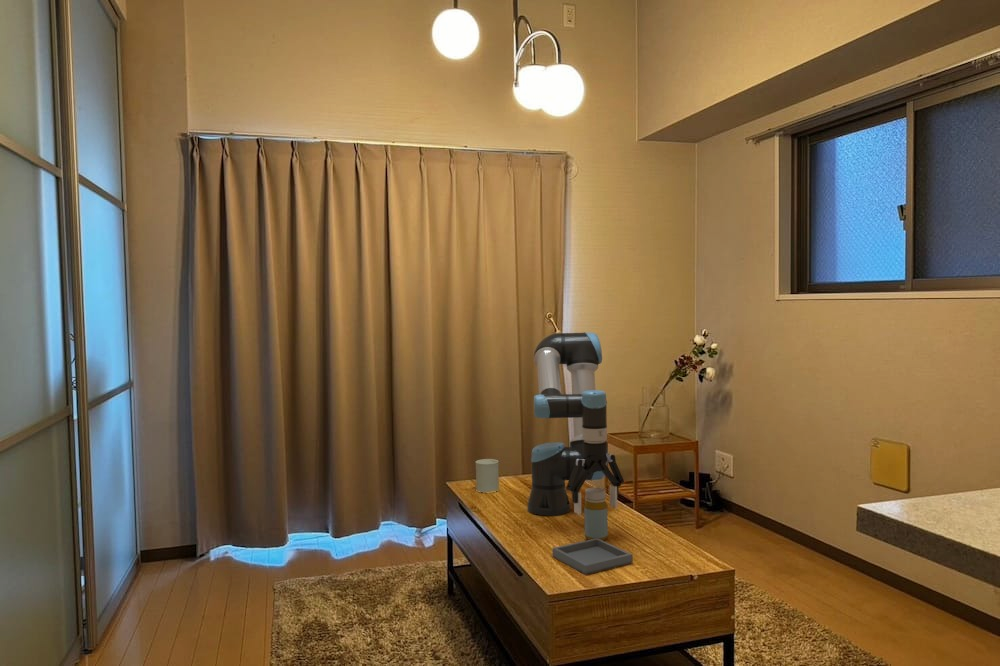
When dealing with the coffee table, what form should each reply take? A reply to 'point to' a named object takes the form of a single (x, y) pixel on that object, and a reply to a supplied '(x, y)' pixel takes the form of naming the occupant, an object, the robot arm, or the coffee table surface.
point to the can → (487, 475)
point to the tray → (592, 556)
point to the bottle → (596, 514)
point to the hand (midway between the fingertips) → (595, 510)
